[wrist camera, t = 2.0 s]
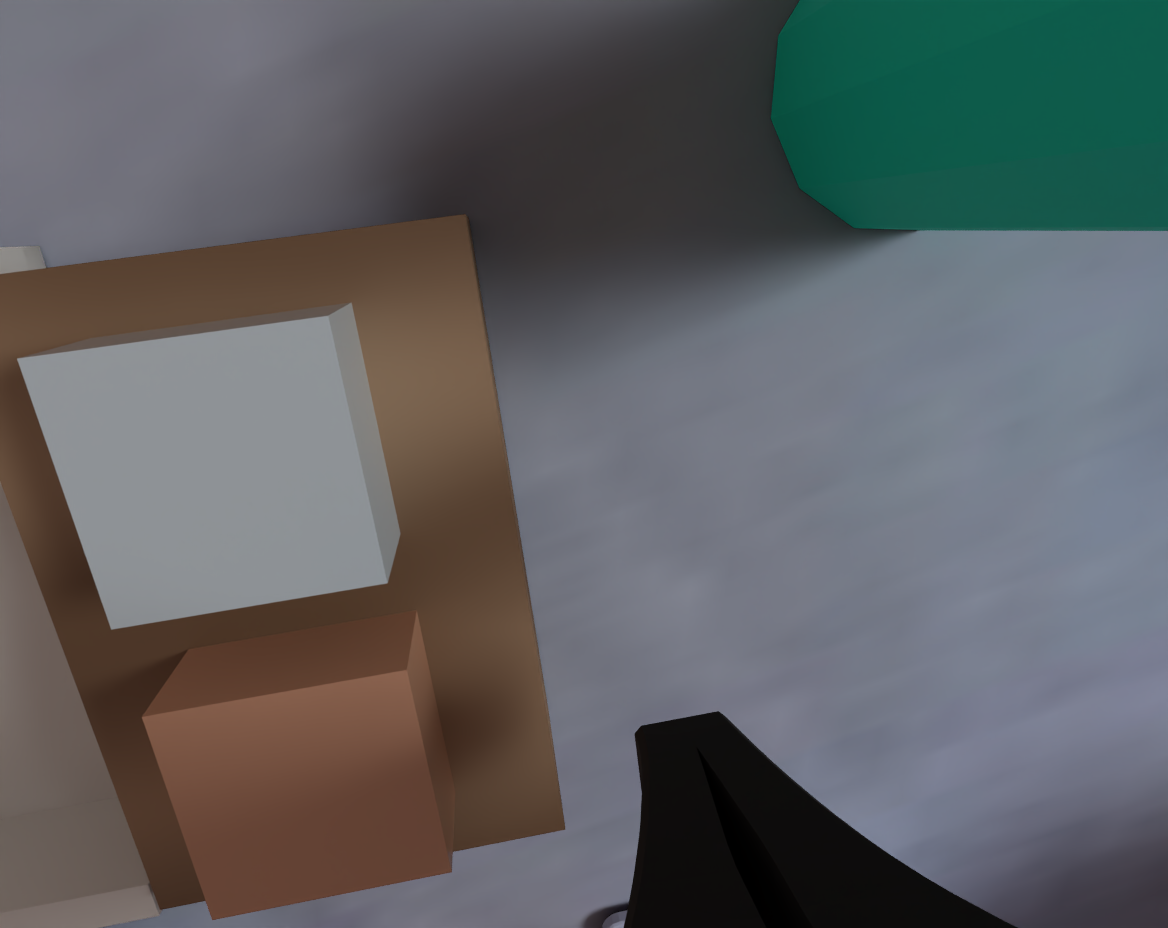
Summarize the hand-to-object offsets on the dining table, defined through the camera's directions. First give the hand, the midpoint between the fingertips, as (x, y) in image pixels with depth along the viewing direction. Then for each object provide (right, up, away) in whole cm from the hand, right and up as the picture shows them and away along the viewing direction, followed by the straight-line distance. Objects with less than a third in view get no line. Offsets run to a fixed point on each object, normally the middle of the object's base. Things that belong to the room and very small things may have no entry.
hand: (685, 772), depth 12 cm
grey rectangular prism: (-7, +5, +1) cm, 9 cm away
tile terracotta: (-6, 0, +2) cm, 7 cm away
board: (-7, +4, +5) cm, 10 cm away
